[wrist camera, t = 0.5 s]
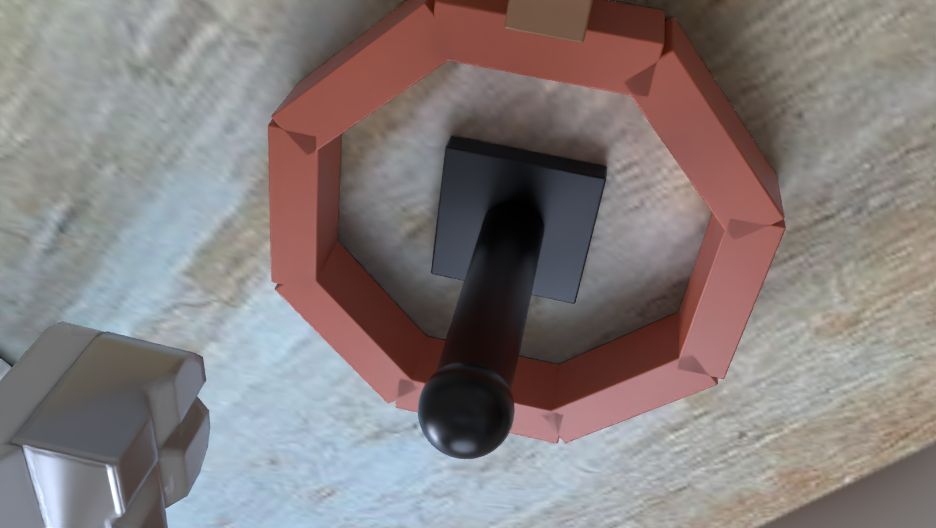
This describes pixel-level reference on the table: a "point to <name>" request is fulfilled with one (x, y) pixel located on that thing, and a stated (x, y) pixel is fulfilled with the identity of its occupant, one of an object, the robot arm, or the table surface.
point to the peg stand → (500, 277)
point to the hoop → (559, 59)
